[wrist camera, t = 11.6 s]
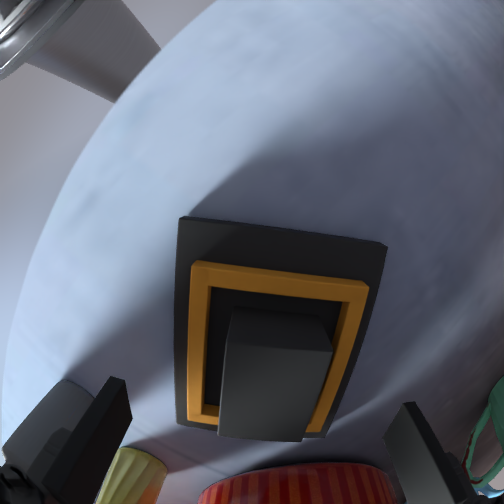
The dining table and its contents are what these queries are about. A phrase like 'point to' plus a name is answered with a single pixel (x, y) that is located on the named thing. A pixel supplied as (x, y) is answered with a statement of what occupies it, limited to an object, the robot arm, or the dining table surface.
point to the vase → (133, 478)
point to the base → (266, 303)
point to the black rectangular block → (272, 374)
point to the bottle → (46, 422)
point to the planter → (304, 485)
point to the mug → (500, 408)
